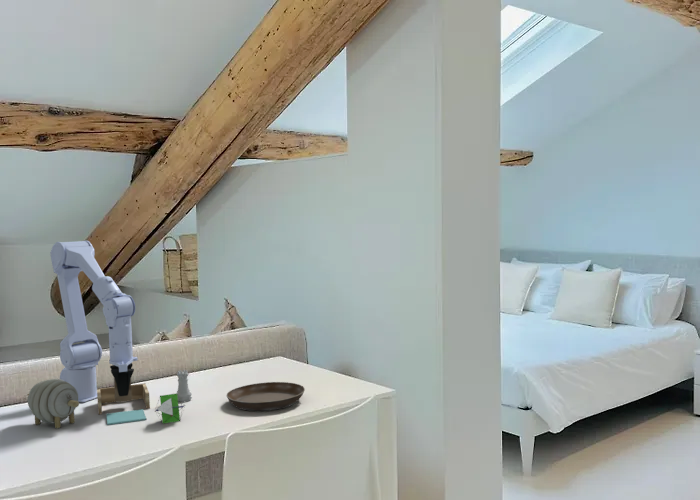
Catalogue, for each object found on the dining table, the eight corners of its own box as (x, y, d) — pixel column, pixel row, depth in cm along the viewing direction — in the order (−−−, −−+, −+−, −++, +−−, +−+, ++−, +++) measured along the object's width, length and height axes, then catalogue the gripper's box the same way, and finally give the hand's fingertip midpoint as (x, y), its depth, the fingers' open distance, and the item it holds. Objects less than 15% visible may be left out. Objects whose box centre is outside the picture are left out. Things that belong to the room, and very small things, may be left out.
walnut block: (114, 398, 179) (113, 375, 179) (130, 397, 181) (129, 373, 180) (115, 402, 175) (114, 378, 175) (131, 400, 177) (130, 376, 177)
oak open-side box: (97, 403, 184) (97, 388, 183) (145, 397, 188) (145, 383, 188) (98, 414, 173) (97, 399, 172) (149, 408, 177) (149, 393, 177)
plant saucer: (210, 409, 175) (210, 397, 175) (255, 390, 193) (254, 378, 193) (279, 418, 166) (278, 404, 166) (318, 396, 185) (318, 384, 184)
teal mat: (106, 415, 172) (106, 413, 172) (143, 410, 175) (143, 409, 175) (107, 425, 163) (107, 423, 163) (146, 419, 167) (146, 418, 167)
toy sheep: (48, 415, 174) (46, 372, 173) (98, 421, 167) (95, 377, 166) (13, 427, 164) (10, 382, 164) (63, 434, 157) (61, 387, 157)
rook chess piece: (187, 402, 182) (186, 373, 181) (172, 402, 183) (171, 372, 182) (194, 398, 186) (193, 369, 186) (179, 397, 187) (178, 369, 187)
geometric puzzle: (152, 409, 168) (154, 388, 164) (180, 405, 171) (182, 384, 167) (156, 432, 163) (158, 411, 159) (185, 428, 166) (188, 407, 162)
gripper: (138, 345, 172) (141, 398, 173) (134, 336, 185) (136, 385, 186) (109, 348, 169) (111, 401, 170) (107, 339, 183) (109, 388, 184)
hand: (123, 393), depth 178 cm, fingers closed on walnut block, 4 cm apart
